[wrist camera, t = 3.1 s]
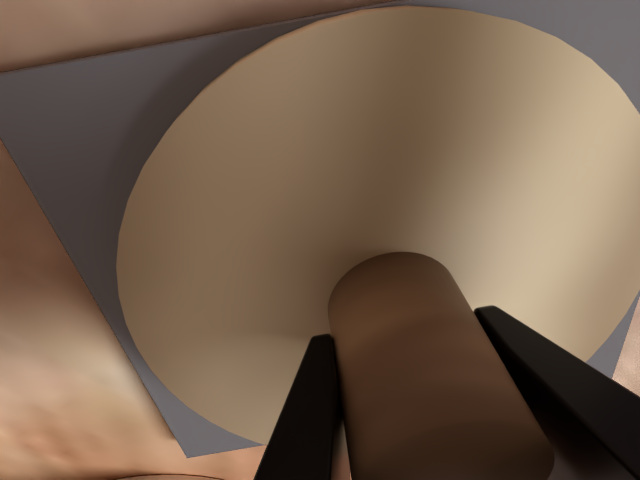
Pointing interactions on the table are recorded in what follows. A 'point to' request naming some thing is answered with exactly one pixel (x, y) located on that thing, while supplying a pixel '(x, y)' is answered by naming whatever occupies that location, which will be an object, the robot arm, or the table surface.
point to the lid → (387, 232)
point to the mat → (168, 103)
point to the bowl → (168, 477)
